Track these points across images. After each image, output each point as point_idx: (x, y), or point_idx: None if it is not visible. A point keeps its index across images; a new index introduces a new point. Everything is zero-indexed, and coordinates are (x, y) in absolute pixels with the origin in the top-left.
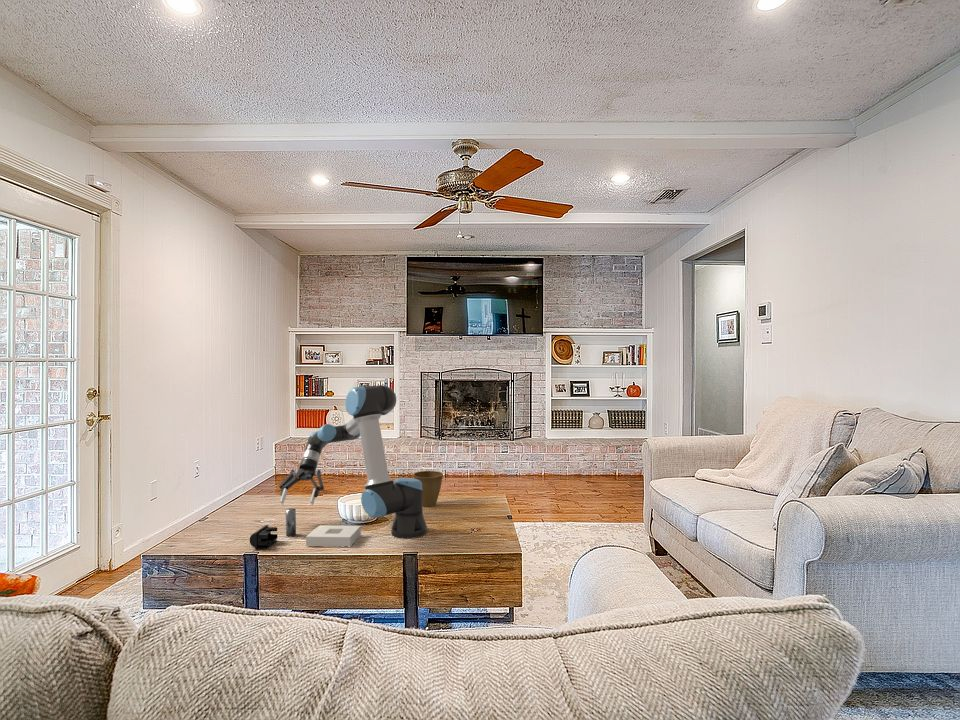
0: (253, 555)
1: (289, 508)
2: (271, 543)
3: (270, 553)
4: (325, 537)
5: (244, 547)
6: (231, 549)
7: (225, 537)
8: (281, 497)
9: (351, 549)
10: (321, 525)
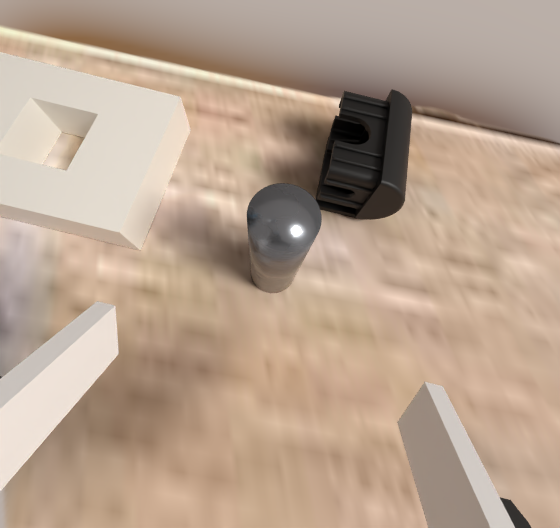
0: None
1: (301, 246)
2: (327, 172)
3: (305, 101)
4: (97, 78)
5: (416, 171)
6: (453, 162)
7: (552, 301)
8: (460, 430)
9: None
10: (106, 228)
